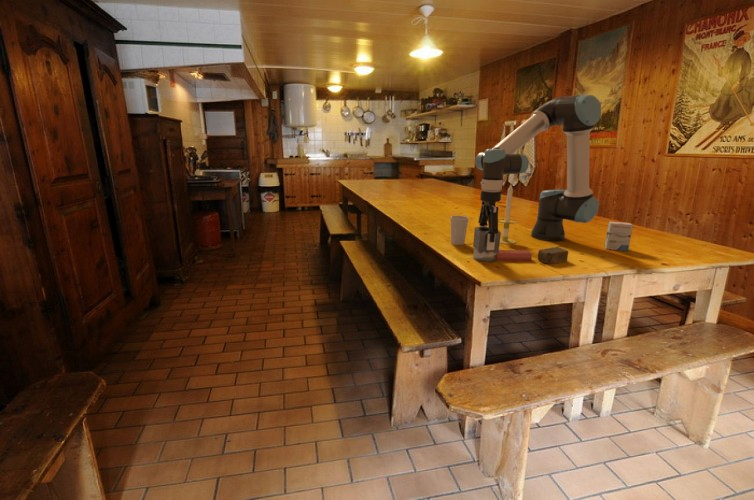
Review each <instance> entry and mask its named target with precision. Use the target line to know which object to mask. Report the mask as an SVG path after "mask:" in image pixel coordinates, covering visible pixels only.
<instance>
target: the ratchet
mask: <svg viewBox="0 0 754 500" xmlns="http://www.w3.org/2000/svg"><path fill="white" fill-rule="evenodd" d="M532 257H533V252H531V251H530V250H528V249H523V250H522V249H517V250H516V249H499V252H478V251H477V250H476V249H475V248H474V247H473V256H472V258H473V260H475V261H478V262H482V263H493V262H496V261H512V262H513V261H515V262H517V261H523V262H525V261H528V262H529V261H532V259H533V258H532Z"/></svg>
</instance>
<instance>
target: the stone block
mask: <svg viewBox="0 0 754 500" xmlns="http://www.w3.org/2000/svg"><path fill="white" fill-rule="evenodd" d="M568 257H569V250H567V249H564V248H561V247H558V246H556V247H555V246H554V247H550V248H549V247H548V248H541V249H538V253H537V261H539V262H541V263H544V264H547V265H553V264H558V263H565V261H566V262H567V261H568Z"/></svg>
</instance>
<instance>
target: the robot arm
mask: <svg viewBox="0 0 754 500" xmlns="http://www.w3.org/2000/svg"><path fill="white" fill-rule="evenodd" d="M601 116H602V106H601V102H600V100H599V98H597V97H596V96H594V95H593V94H577V95H570V96H568V95H567V96H559V97H555V98H553V99H551V100H548V101H547V102H544V104H542V105H540V106H539V107H538V108H536V109H535V110H534V111H532V112H531V114H530V117H529V118H528V119H527V120H525V121H524V122H523V123H522V124H521V125H519V126H518V127H517V128H515V129H514V130H513V131H512V132H510V133H509V134H508V135H507V136H506V137H504V138H503V139H501V141H499V142H498V143H496V144H495V145H494V146H493V147H492V148H487V149H485V151H481V152H479V153H478V154H477V155H476V156H475V159H474V160H475V161H474V163H475V166H476V168H477V169H478V170H480V171H482V175H481V176H482V177H481V181H480V185H481V188H480V189H481V191H480V201H481V206H480V207H481V208H480V212H479V216H478V221H477V222H478V225H479V227H489V232H487V234H488V239H487V249H486V250H494V246H495V236H496V233H498V230H499V222H498V219H499V207H498V206H496V203H499V202H500V201H501V198H502V192H501V191H502V189H503V181H504V179H503V178H504V175H519V174H524V173H525V172H527V170H528V169H529V165H530V160H529V158H528V156H527V155H525V154H523V153H522V154H520V153H516V152H517V151H519V150H520V149H521V148H523V147H524V146H525V145H526V144H527V143H529V142H530V141H531V140H532V139H533V138H535V137H536V136H537V135H538V134H540V133H541V132H545V131H547V130H548V129H549V128H553V127H557V126H562V133H564V134H565V135H566V181H567V182H566V183H567V184H566V189H546V190H542V191H541V192H540V195H539V199H538V208H537V214H536V215H537V216H536V221H535V223H534V226H533V227H532V229H531V233H530V236H531V237H532V238H535V239H538V240H544V241H550V242H551V241H553V242H555V241H563V240H565V236H566V233H565V232H566V231H565V228H564V220H566V221H572V222H575V223H581V224H586V223H589V222H590V221H592V220H593V219H594V218H595V216H596V215H597V214H598V211H599V207H600V201H599V200H598V198H596V197H594V192H593V190H592V189H591V188H590V147H591V144H590V143H591V142H590V140H591V139H590V138H591V131H593V130H594V128H595V125H596V124H597V123H598V122H599V121H600V117H601Z"/></svg>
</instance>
